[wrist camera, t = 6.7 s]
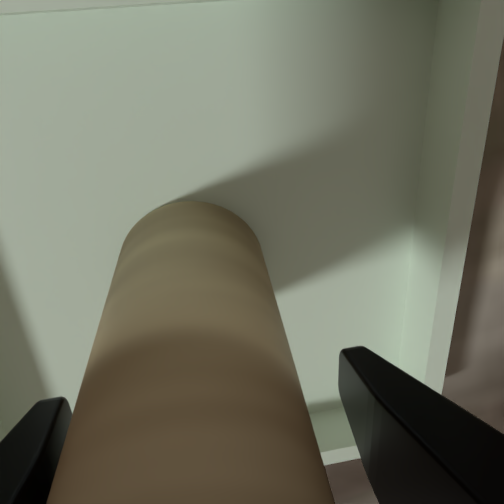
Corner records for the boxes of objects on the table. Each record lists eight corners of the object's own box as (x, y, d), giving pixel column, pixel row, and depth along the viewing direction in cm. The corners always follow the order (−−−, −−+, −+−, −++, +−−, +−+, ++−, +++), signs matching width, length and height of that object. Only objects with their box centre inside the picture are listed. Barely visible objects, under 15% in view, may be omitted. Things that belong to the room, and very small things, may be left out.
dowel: (266, 317, 13) (438, 1032, 4) (133, 333, 12) (-12, 1138, 4) (259, 193, 11) (545, 970, 2) (105, 209, 11) (-312, 1172, 2)
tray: (401, 394, 16) (432, 443, 14) (11, 467, 14) (-10, 532, 13) (454, -46, 10) (520, -60, 8) (-204, -8, 8) (-307, -15, 7)
